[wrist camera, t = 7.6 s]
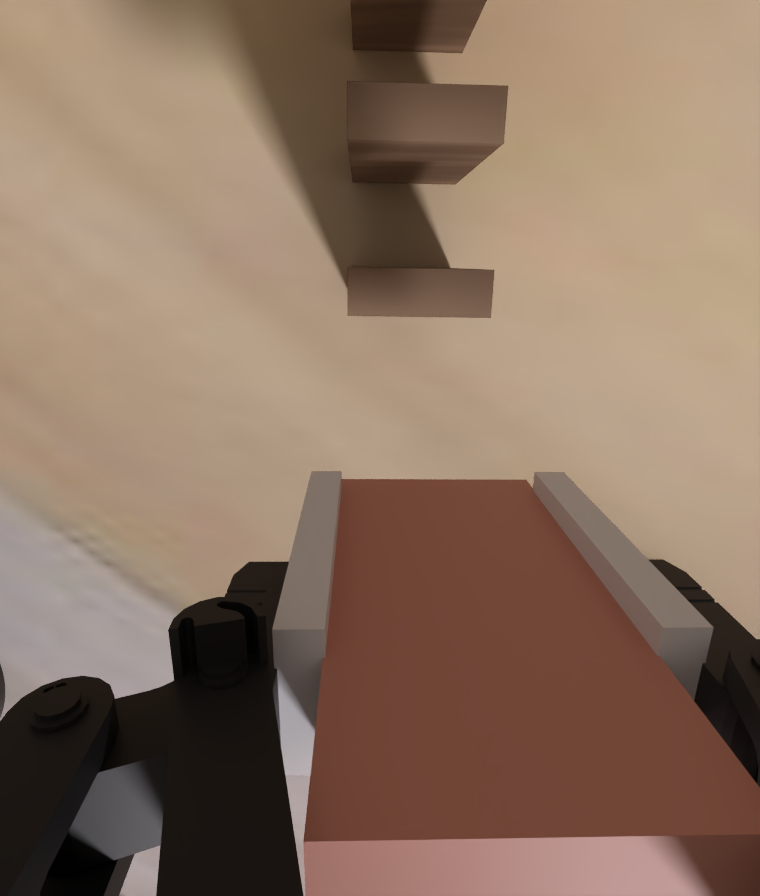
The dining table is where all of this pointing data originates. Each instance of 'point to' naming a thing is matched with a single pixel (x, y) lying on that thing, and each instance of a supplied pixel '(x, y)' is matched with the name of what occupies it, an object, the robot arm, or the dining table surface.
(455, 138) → the domino
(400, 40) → the domino
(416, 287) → the domino
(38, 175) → the dining table surface
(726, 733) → the robot arm
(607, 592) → the domino
